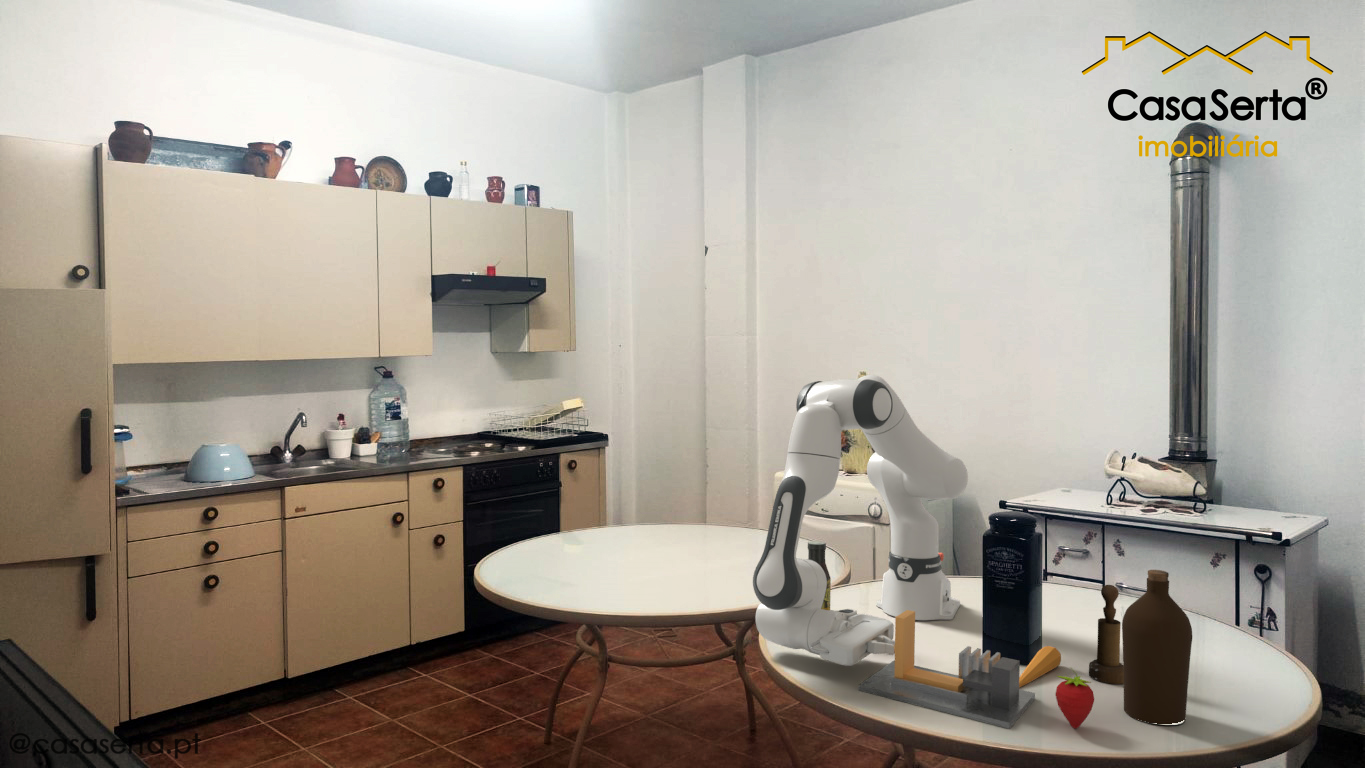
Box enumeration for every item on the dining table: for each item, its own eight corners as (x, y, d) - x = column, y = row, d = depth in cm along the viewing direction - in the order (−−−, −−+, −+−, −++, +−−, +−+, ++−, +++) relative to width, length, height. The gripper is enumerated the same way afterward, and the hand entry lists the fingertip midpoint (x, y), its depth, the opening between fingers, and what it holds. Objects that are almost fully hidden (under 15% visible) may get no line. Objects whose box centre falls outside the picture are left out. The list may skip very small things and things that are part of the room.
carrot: (1047, 666, 176) (1038, 644, 177) (1068, 663, 173) (1059, 641, 174) (1004, 704, 162) (995, 680, 163) (1027, 702, 159) (1017, 677, 160)
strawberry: (1051, 732, 143) (1053, 672, 143) (1057, 716, 150) (1058, 658, 150) (1091, 740, 140) (1092, 679, 140) (1095, 723, 147) (1096, 664, 147)
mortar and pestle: (1128, 676, 169) (1130, 584, 168) (1125, 687, 163) (1128, 591, 163) (1090, 669, 172) (1092, 579, 172) (1087, 680, 167) (1089, 586, 166)
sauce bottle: (829, 636, 191) (830, 546, 190) (800, 634, 192) (801, 545, 192) (830, 627, 197) (831, 540, 197) (802, 625, 199) (803, 539, 198)
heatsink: (893, 665, 173) (894, 625, 173) (1035, 698, 157) (1036, 654, 157) (858, 690, 161) (859, 647, 160) (1009, 728, 145) (1010, 681, 144)
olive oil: (1142, 728, 145) (1146, 580, 144) (1107, 703, 156) (1111, 564, 155) (1203, 727, 146) (1208, 579, 145) (1165, 702, 156) (1169, 564, 155)
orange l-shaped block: (906, 672, 166) (907, 609, 166) (966, 686, 160) (967, 621, 159) (894, 680, 162) (895, 617, 162) (956, 695, 155) (957, 629, 155)
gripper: (805, 631, 164) (874, 646, 156) (853, 606, 181) (917, 619, 172) (805, 664, 164) (873, 681, 156) (852, 636, 181) (917, 650, 173)
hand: (897, 648), depth 164 cm, fingers closed
